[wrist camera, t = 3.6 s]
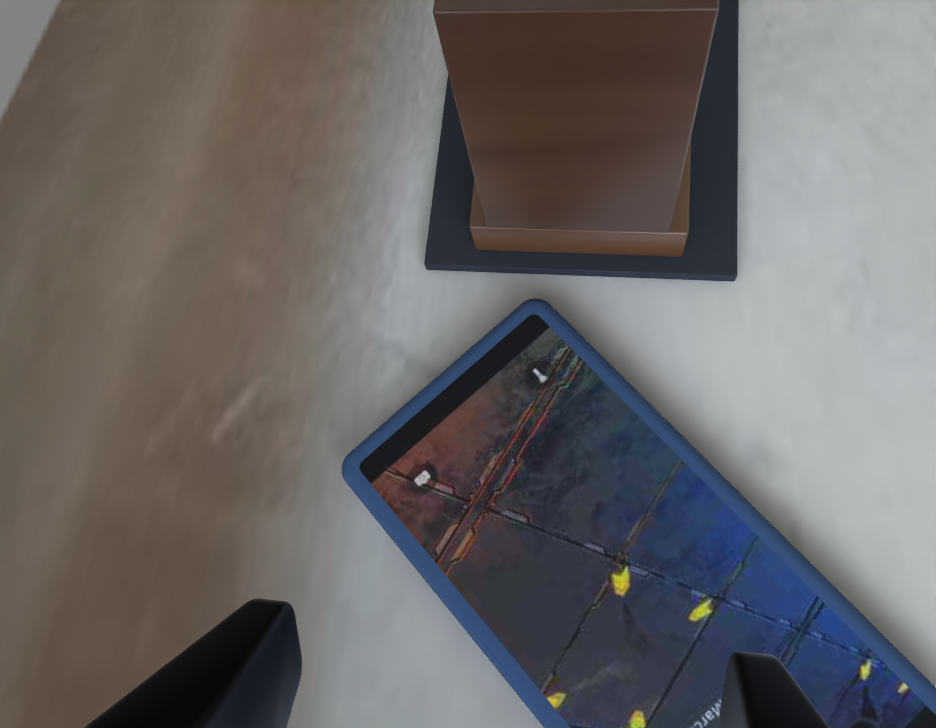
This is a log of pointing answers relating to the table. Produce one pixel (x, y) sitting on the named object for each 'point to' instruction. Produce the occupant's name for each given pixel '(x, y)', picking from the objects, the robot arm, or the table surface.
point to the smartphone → (608, 547)
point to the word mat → (702, 258)
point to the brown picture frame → (578, 119)
